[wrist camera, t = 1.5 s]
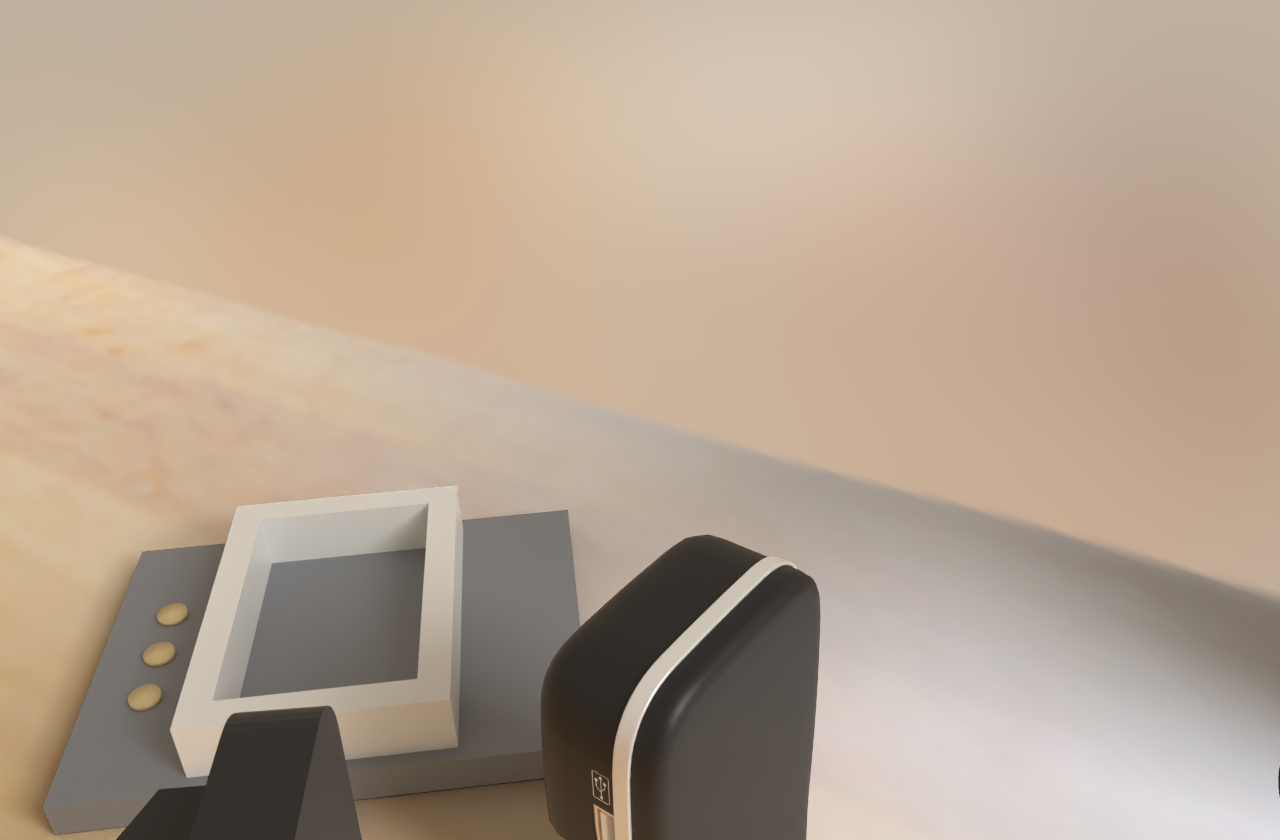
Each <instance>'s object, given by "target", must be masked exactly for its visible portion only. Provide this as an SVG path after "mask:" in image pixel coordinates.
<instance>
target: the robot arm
mask: <svg viewBox="0 0 1280 840" xmlns="http://www.w3.org/2000/svg"><path fill="white" fill-rule="evenodd" d="M1278 778H1279V795H1280V768H1279V777H1278ZM116 840H362V839H361V833H360V829H359V824H358V819H357V814H356V809H355V804H354V799H353V794H352V789H351V785H350V780H349V775H348V770H347V765H346V760H345V755H344V750H343V745H342V741H341V736H340V731H339V726H338V722H337V718H336V715H335V712H334V710H333V709H332V707H331V706H316V707H304V708H291V709H278V710H265V711H252V712H239V713H233V714H231V715H230V717H229V718H228V719H227V721H226V723H225V725H224V728H223V731H222V734H221V737H220V740H219V743H218V747H217V750H216V753H215V756H214V760H213V763H212V766H211V769H210V773H209V776H208V779H207V783H206V785H204V786H191V787H179V788H166V789H159V790H158V791H157V792H156V793H155V794H154V796H153V797H152V798H151V799H150V800H149V802H148V803H147V804H146V805H145V806H144V807H143V809H142V810H141V811H140V812H139V813H138V815H137V816H136V817H135V818H134V819H133V820H132V822H131V823H130V824H129V825H128V826H127V827H126V829H125V830H124V831H123V832H122V833H121V835H120V836H119V837H118V838H117V839H116Z"/></svg>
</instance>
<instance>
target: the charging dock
mask: <svg viewBox="0 0 1280 840" xmlns="http://www.w3.org/2000/svg"><path fill="white" fill-rule="evenodd" d="M579 628H580V624H579V614H578V605H577V595H576V585H575V576H574V566H573V556H572V547H571V537H570V528H569V518H568V510H563V511H553V512H542V513H532V514H522V515H512V516H502V517H492V518H481V519H471V520H462V516H461V509H460V502H459V495H458V489H457V485H451V486H441V487H430V488H420V489H410V490H399V491H389V492H378V493H368V494H358V495H347V496H337V497H326V498H316V499H306V500H295V501H285V502H274V503H264V504H254V505H243V506H237V508H236V511H235V515H234V518H233V521H232V525H231V528H230V531H229V535H228V538H227V541H226V544H217V545H207V546H197V547H187V548H177V549H166V550H156V551H146V552H142V554H141V557H140V559H139V562H138V565H137V567H136V570H135V572H134V575H133V577H132V580H131V582H130V585H129V587H128V590H127V593H126V595H125V598H124V600H123V603H122V605H121V608H120V610H119V613H118V615H117V618H116V621H115V623H114V626H113V628H112V631H111V633H110V636H109V638H108V641H107V643H106V646H105V649H104V651H103V654H102V656H101V659H100V661H99V664H98V666H97V669H96V671H95V674H94V676H93V679H92V682H91V684H90V687H89V689H88V692H87V694H86V697H85V699H84V702H83V704H82V707H81V710H80V712H79V715H78V717H77V720H76V722H75V725H74V727H73V730H72V732H71V735H70V738H69V740H68V743H67V745H66V748H65V750H64V753H63V755H62V758H61V760H60V763H59V766H58V768H57V771H56V773H55V776H54V778H53V781H52V783H51V786H50V788H49V791H48V793H47V796H46V799H45V801H44V804H43V806H42V808H43V810H44V813H45V815H46V817H47V819H48V821H49V824H50V826H51V828H52V830H53V832H54V835H56V834H65V833H74V832H82V831H91V830H100V829H108V828H117V827H126V826H128V825H129V824H130V823H131V822H132V820H133V819H134V818H135V817H136V816H137V815H138V813H139V812H140V811H141V810H142V809H143V807H144V806H145V805H146V804H147V803H148V802H149V800H150V799H151V798H152V797H153V796H154V794H155V793H156V792H157V791H158V790H159V789H166V788H179V787H191V786H204V785H206V783H207V779H208V776H209V773H210V769H211V766H212V763H213V760H214V756H215V753H216V750H217V747H218V743H219V740H220V737H221V734H222V731H223V728H224V725H225V723H226V721H227V719H228V718H229V717H230V715H231V714H233V713H239V712H252V711H265V710H278V709H291V708H304V707H316V706H331V707H332V709H333V710H334V712H335V715H336V718H337V722H338V726H339V731H340V736H341V741H342V745H343V750H344V755H345V760H346V765H347V770H348V775H349V780H350V785H351V789H352V794H353V799H354V800H360V799H369V798H377V797H386V796H395V795H403V794H412V793H421V792H429V791H438V790H447V789H455V788H464V787H473V786H481V785H490V784H499V783H507V782H516V781H525V780H533V779H542V778H544V769H543V756H542V739H541V714H540V703H541V690H542V685H543V681H544V677H545V674H546V672H547V669H548V667H549V665H550V663H551V661H552V659H553V657H554V656H555V655H556V653H557V652H558V650H559V649H560V648H561V646H562V645H563V644H564V643H565V642H566V641H567V640H568V639H569V638H570V637H571V635H572V634H573V633H574V632H575V631H577V630H578V629H579Z"/></svg>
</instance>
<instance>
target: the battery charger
mask: <svg viewBox="0 0 1280 840" xmlns="http://www.w3.org/2000/svg"><path fill="white" fill-rule="evenodd" d="M819 639H820V599H819V592H818V589H817V586H816V583H815V582H814V580H813V579H812V578H811V577H810V576H808V575H806V574H805V573H803V572H801V571H799V570H798V568H797V566H796V565H795V564H794V563H793V562H790V561H788V560H785V559H783V558H780V557H777V556H768V557H766V556H764V555H761V554H759V553H757V552H754V551H752V550H749V549H747V548H744V547H742V546H740V545H737V544H735V543H732V542H730V541H728V540H725V539H722V538H718V537H715V536H711V535H701V536H694V537H690V538H686V539H684V540H682V541H681V542H679V543H678V544H676V545H675V546H673V547H672V548H670V549H669V550H668V551H666V552H665V553H664V554H663V555H661V556H660V557H659V558H658V559H657V560H656V561H654V562H653V563H652V564H651V565H650V566H648V567H647V568H646V569H645V570H644V571H643V572H641V573H640V574H639V575H638V576H637V577H636V578H634V579H633V580H632V581H631V582H630V583H628V584H627V585H626V586H625V587H624V588H623V589H621V590H620V591H619V592H618V593H617V594H616V595H615V596H614V597H613V598H612V599H610V600H609V601H608V602H607V603H606V604H605V605H604V606H603V607H602V608H601V609H600V610H598V611H597V612H596V613H595V614H594V615H593V616H592V617H591V618H590V619H589V620H587V621H586V622H585V623H584V624H583V625H582V626H581V627H580V628H579V629H578V630H577V631H575V632H574V633H573V634H572V635H571V637H570V638H569V639H568V640H567V641H566V642H565V643H564V644H563V645H562V646H561V648H560V649H559V650H558V652H557V653H556V655H555V656H554V657H553V659H552V661H551V663H550V665H549V667H548V669H547V672H546V674H545V677H544V681H543V685H542V690H541V703H540V714H541V739H542V756H543V769H544V780H545V789H546V797H547V805H548V813H549V820H550V822H551V824H552V825H553V827H554V828H555V830H556V831H557V833H558V834H559V835H560V836H562V837H563V838H564V839H566V840H806V828H807V808H808V793H809V782H810V772H811V762H812V750H813V738H814V726H815V713H816V699H817V683H818V663H819Z"/></svg>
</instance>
